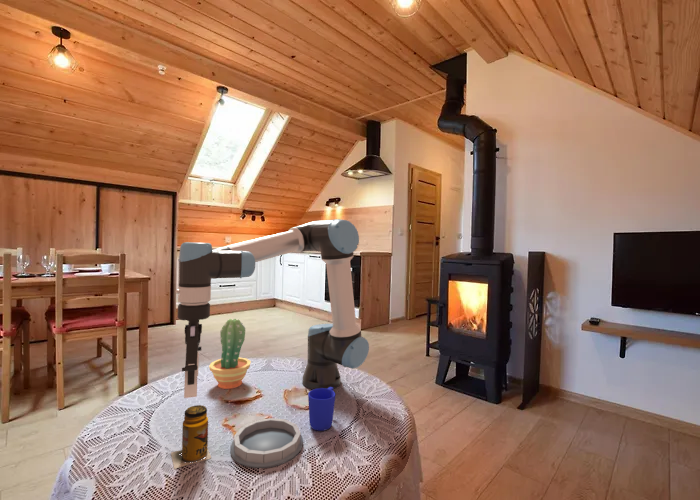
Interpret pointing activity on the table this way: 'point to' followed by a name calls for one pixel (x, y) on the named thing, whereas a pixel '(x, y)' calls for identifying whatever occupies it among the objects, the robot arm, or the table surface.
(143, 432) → the table surface
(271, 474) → the table surface
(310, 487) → the table surface
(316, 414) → the mug
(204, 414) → the condiment
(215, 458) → the table surface
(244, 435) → the bowl
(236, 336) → the potted cactus
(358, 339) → the robot arm
